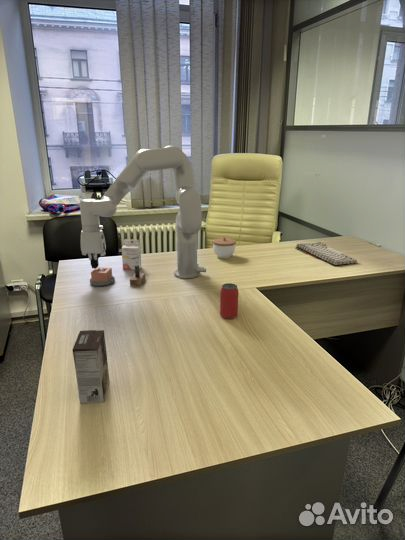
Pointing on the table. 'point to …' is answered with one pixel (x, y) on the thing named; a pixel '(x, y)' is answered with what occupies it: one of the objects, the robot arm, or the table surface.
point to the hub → (102, 284)
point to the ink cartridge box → (131, 254)
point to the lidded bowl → (224, 247)
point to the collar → (101, 275)
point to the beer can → (229, 301)
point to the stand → (137, 277)
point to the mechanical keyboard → (325, 254)
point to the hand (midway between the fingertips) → (95, 267)
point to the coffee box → (91, 366)
